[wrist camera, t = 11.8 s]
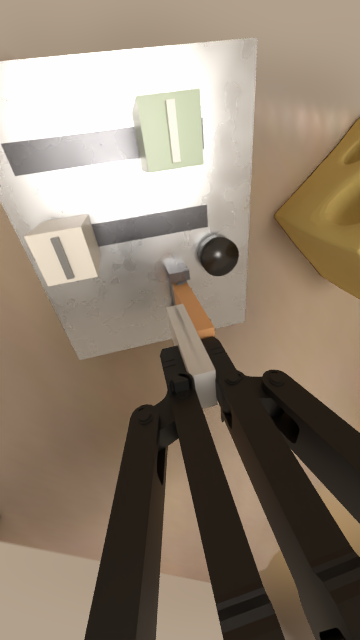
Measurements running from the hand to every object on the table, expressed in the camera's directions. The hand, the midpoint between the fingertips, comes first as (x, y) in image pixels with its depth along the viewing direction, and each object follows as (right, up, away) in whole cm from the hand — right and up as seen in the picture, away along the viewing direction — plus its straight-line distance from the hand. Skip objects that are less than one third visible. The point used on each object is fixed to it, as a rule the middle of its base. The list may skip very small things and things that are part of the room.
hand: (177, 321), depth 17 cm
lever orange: (0, +3, +4) cm, 5 cm away
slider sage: (-1, +11, -2) cm, 12 cm away
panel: (-3, +7, +3) cm, 8 cm away
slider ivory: (-7, +6, 0) cm, 9 cm away
